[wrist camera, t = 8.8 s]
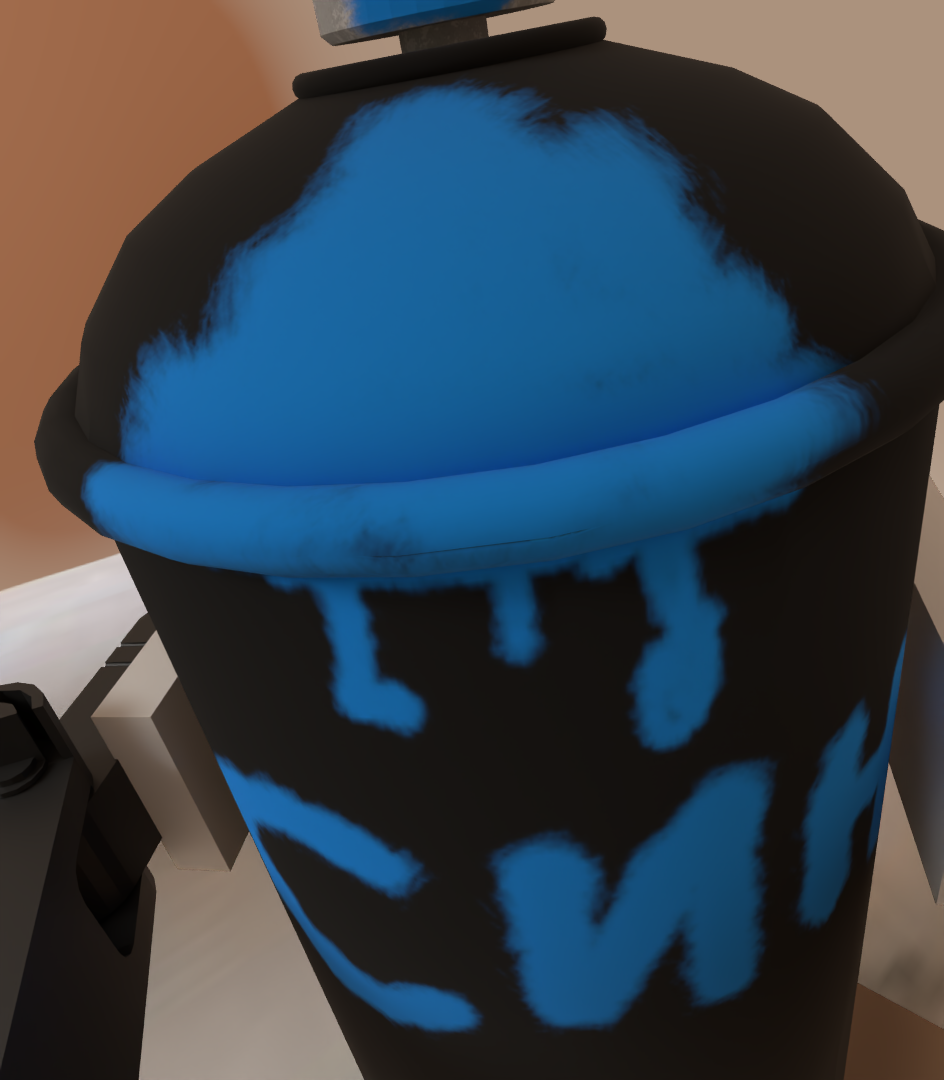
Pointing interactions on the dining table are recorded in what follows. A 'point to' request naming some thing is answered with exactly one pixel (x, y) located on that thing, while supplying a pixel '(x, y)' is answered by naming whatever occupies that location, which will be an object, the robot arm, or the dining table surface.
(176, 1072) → the dining table surface
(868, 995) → the board
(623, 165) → the aerosol can
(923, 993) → the dining table surface
